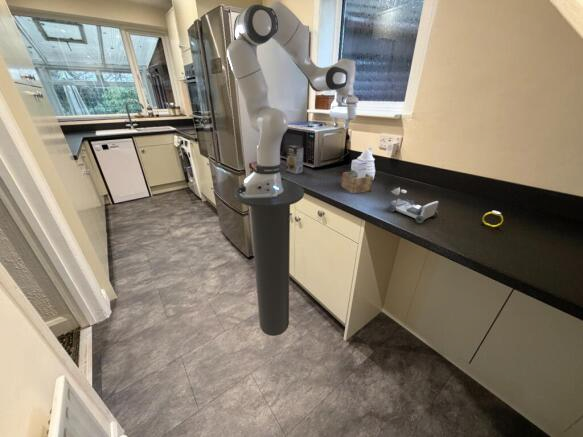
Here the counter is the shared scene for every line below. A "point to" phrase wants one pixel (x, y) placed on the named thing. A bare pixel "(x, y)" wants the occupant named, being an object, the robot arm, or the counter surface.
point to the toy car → (413, 207)
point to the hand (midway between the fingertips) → (340, 128)
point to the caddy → (356, 183)
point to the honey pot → (368, 161)
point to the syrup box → (358, 168)
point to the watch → (494, 214)
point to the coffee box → (294, 159)
